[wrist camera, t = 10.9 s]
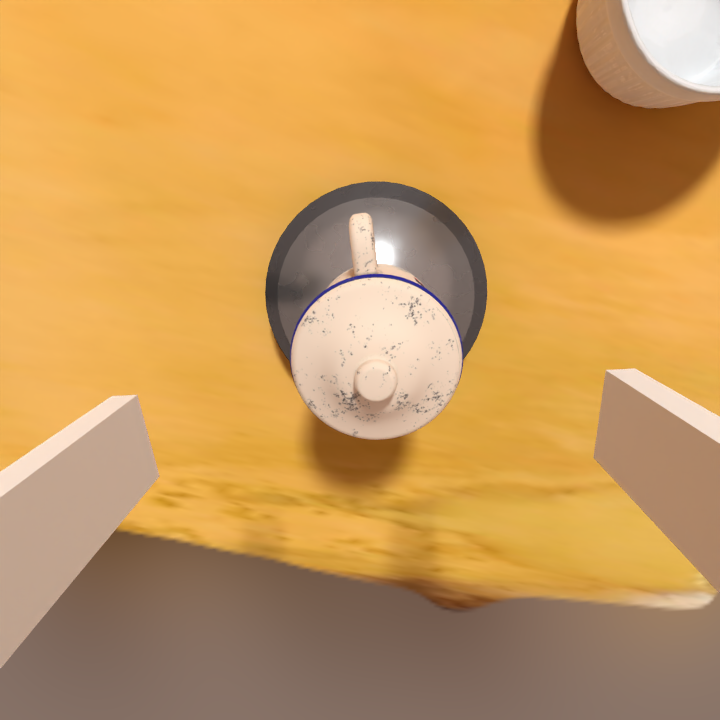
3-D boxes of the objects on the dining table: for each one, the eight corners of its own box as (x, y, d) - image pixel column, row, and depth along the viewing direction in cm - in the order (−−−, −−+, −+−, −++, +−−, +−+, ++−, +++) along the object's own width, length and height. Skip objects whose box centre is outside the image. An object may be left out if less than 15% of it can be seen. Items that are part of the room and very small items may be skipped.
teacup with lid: (443, 374, 30) (481, 462, 19) (324, 387, 31) (295, 478, 20) (431, 205, 26) (470, 193, 15) (295, 224, 27) (241, 226, 16)
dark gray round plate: (287, 394, 35) (279, 409, 32) (259, 193, 29) (247, 190, 27) (476, 384, 34) (485, 400, 31) (481, 176, 28) (493, 171, 26)
